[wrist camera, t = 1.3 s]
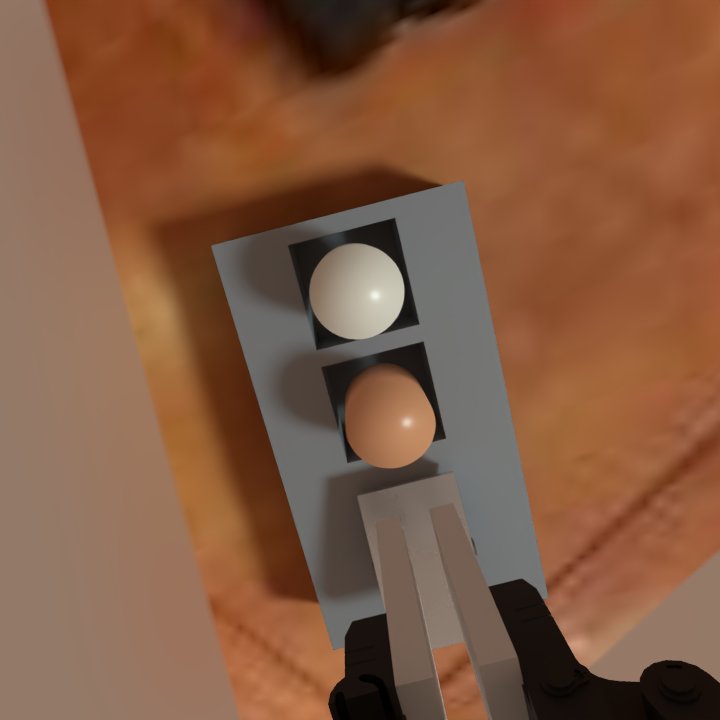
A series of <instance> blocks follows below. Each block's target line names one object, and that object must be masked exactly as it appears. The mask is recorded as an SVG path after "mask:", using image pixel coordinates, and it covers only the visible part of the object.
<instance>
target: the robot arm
mask: <svg viewBox="0 0 720 720" xmlns="http://www.w3.org/2000/svg"><path fill="white" fill-rule="evenodd" d="M429 512H430V516H431V520H432V524H433V528H434V532H435V537H436V541H437V545H438V549H439V553H440V557H441V561H442V565H443V569H444V573H445V577H446V581H447V585H448V589H449V592H450V595H451V599H452V602H453V605H454V608H455V612H456V615H457V618H458V621H459V625H460V628H461V631H462V635H463V638H464V641H465V644H466V648H467V651H468V654H469V657H470V661H471V664H472V667H473V671H474V674H475V677H476V680H477V684H478V687H479V690H480V693H481V697H482V700H483V703H484V707H485V710H486V713H487V716H488V720H720V683H719V682H718V681H717V680H715V679H714V678H713V677H712V676H711V675H710V674H708V673H707V672H705V671H704V670H702V669H700V668H699V667H697V666H695V665H692V664H688V663H686V662H683V661H672V660H665V661H661V662H657V663H653V664H652V665H650V666H649V667H647V668H646V669H644V671H643V673H642V675H641V677H640V682H626V681H614V680H607V679H604V678H601V677H598V676H596V675H594V674H592V673H590V671H589V670H588V669H587V668H586V667H585V666H583V665H581V664H580V663H579V662H578V661H577V660H576V658H575V656H574V655H573V653H572V651H571V649H570V647H569V646H568V644H567V642H566V640H565V638H564V637H563V635H562V633H561V631H560V629H559V628H558V626H557V624H556V622H555V620H554V619H553V617H552V616H551V613H550V612H549V610H548V608H547V606H546V605H545V603H544V601H543V599H542V597H541V595H540V594H539V592H538V590H537V588H535V587H534V586H532V585H531V584H529V583H528V582H527V581H525V580H524V579H517V580H513V581H509V582H505V583H501V584H497V585H493V586H489V587H488V585H487V583H486V580H485V578H484V576H483V573H482V571H481V569H480V566H479V564H478V561H477V559H476V557H475V554H474V552H473V550H472V547H471V545H470V542H469V540H468V538H467V535H466V533H465V530H464V528H463V526H462V523H461V521H460V519H459V516H458V514H457V511H456V509H455V507H454V504H453V503H450V504H446V505H441V506H437V507H433V508H429ZM375 524H376V532H377V541H378V549H379V557H380V565H381V574H382V582H383V590H384V598H385V607H386V613H384V614H380V615H376V616H372V617H368V618H363V619H359V620H355V621H352V623H351V625H350V627H349V629H348V631H347V633H346V635H345V678H343V679H342V680H341V681H340V682H338V683H337V684H336V686H335V687H334V689H333V690H332V692H331V694H330V698H329V703H328V705H329V709H330V712H331V715H332V718H333V720H447V717H446V713H445V708H444V704H443V699H442V694H441V690H440V685H439V681H438V676H437V672H436V667H435V663H434V658H433V654H432V649H431V645H430V640H429V635H428V631H427V626H426V622H425V617H424V613H423V608H422V604H421V599H420V595H419V590H418V587H417V583H416V579H415V575H414V571H413V567H412V563H411V559H410V556H409V552H408V548H407V544H406V540H405V536H404V532H403V528H402V525H401V521H400V517H399V516H397V517H393V518H389V519H385V520H381V521H377V522H375Z"/></svg>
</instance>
